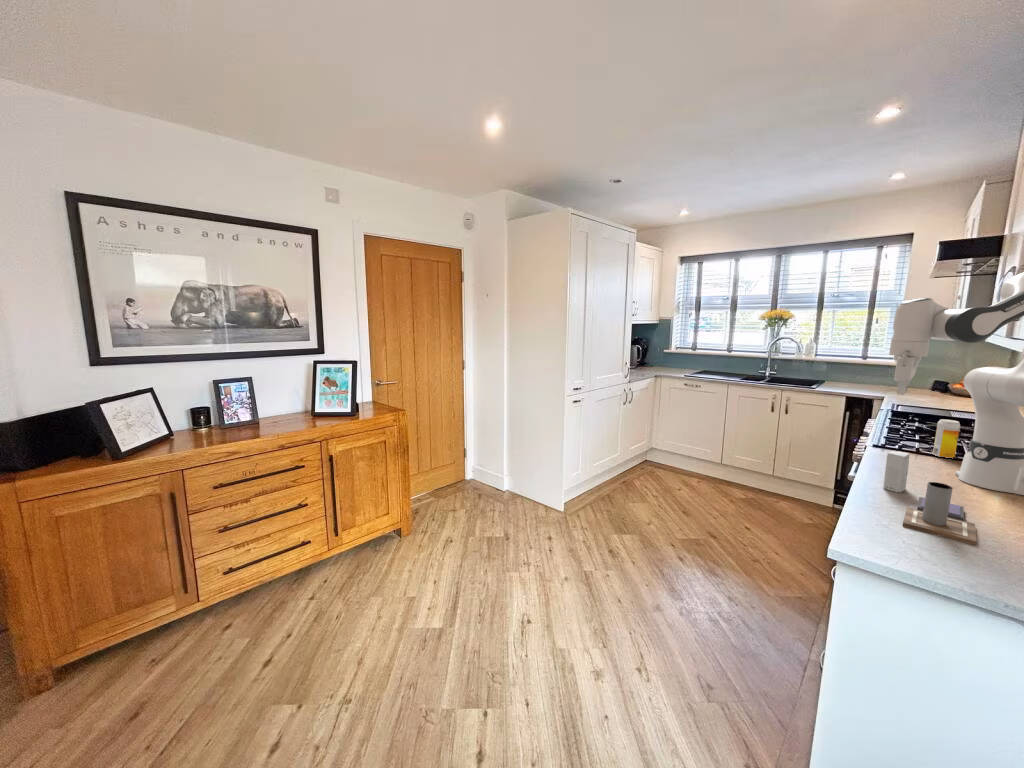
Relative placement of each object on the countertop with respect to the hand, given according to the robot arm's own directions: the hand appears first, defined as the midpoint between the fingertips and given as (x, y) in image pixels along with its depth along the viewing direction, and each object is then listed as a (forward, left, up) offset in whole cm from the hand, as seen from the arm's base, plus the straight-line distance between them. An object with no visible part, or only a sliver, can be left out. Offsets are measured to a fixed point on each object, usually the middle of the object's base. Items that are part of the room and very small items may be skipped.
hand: (902, 392), depth 131 cm
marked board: (+16, +27, -31) cm, 44 cm away
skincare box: (+3, +4, -31) cm, 32 cm away
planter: (+17, +27, -30) cm, 44 cm away
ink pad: (+5, +19, -31) cm, 37 cm away
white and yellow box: (-49, -22, -31) cm, 62 cm away
